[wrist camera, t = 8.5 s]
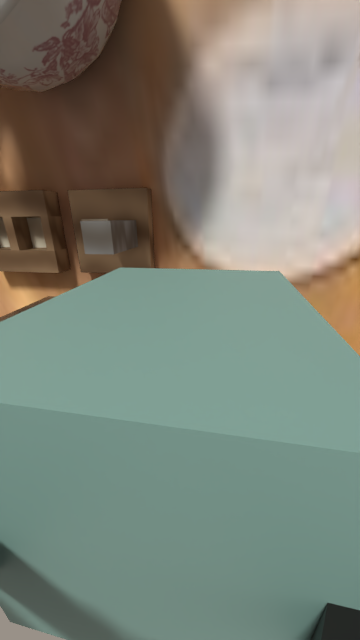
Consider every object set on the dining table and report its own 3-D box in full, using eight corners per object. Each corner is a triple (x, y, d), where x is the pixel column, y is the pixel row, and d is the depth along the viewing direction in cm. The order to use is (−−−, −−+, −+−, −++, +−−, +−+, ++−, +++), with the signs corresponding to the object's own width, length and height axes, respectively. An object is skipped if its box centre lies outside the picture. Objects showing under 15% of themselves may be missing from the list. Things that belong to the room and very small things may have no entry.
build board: (70, 269, 39) (58, 272, 36) (0, 267, 41) (-16, 270, 39) (56, 192, 35) (42, 190, 32) (-21, 194, 37) (-40, 192, 34)
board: (154, 271, 37) (131, 288, 28) (87, 269, 39) (45, 285, 30) (151, 189, 33) (121, 178, 24) (75, 191, 35) (22, 182, 25)
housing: (259, 409, 18) (308, 715, 7) (133, 394, 19) (10, 622, 8) (279, 271, 14) (465, 467, 3) (120, 267, 16) (-136, 383, 5)
